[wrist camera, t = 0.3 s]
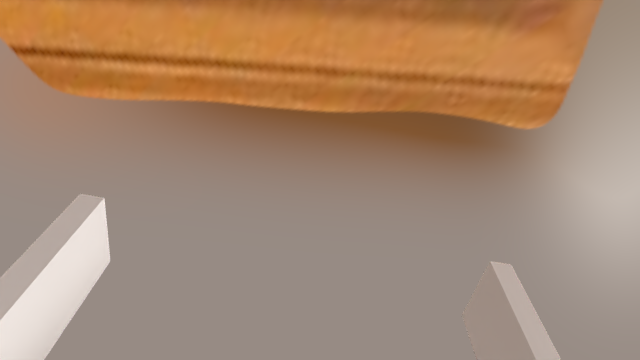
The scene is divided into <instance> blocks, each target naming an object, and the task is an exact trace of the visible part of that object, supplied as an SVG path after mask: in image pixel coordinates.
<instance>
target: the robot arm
mask: <svg viewBox="0 0 640 360" xmlns="http://www.w3.org/2000/svg"><path fill="white" fill-rule="evenodd" d="M109 262H110V253H109V241H108V232H107V220H106V210H105V200H104V198H103V197H96V196H90V195H84V194H80V195H79V196H78V197H77V198H76V199H75V200H74V201H73V202H72V203H71V204H70V205H69V206H68V207H67V208H66V209H65V210H64V212H62V214H61V215H60V216H59V217H58V218H57V219H56V220H55V221H54V222H53V223H52V224H51V225H50V226H49V227H48V228H47V229H46V230H45V231H44V232H43V233H42V235H41V236H40V237H39V238H38V239H37V240H36V241H35V242H34V243H33V244H32V245H31V246H30V247H29V248H28V249H27V250H26V251H25V252H24V254H23V255H22V256H21V257H20V258H19V259H18V260H17V261H16V262H15V263H14V264H13V265H12V266H11V267H10V268H9V269H8V270H7V271H6V272H5V273H4V274H3V276H2V277H1V278H0V360H44V359H45V358H46V356H47V354H48V353H49V352H50V350H51V349H52V347H53V346H54V344H55V343H56V341H57V340H58V338H59V337H60V335H61V334H62V332H63V331H64V329H65V328H66V326H67V325H68V323H69V322H70V320H71V319H72V317H73V316H74V314H75V313H76V311H77V310H78V308H79V307H80V305H81V304H82V302H83V301H84V299H85V298H86V296H87V295H88V293H89V292H90V290H91V289H92V288H93V286H94V284H95V283H96V281H97V280H98V279H99V277H100V275H101V274H102V273H103V271H104V269H105V268H106V266H107V265H108V264H109ZM462 316H463V320H464V322H465V326H466V328H467V332H468V335H469V338H470V341H471V344H472V347H473V350H474V353H475V356H476V359H477V360H561V359H560V357H559V355H558V353H557V351H556V349H555V347H554V345H553V344H552V342H551V340H550V338H549V336H548V334H547V332H546V330H545V328H544V326H543V325H542V323H541V321H540V319H539V317H538V315H537V313H536V311H535V309H534V307H533V305H532V303H531V302H530V300H529V298H528V296H527V294H526V292H525V290H524V288H523V286H522V285H521V282H520V281H519V279H518V277H517V275H516V273H515V271H514V269H513V268H512V265H511V264H505V263H498V262H492V261H490V262H489V264H488V266H487V268H486V270H485V272H484V274H483V276H482V278H481V280H480V282H479V284H478V285H477V287H476V289H475V291H474V293H473V295H472V297H471V299H470V301H469V303H468V305H467V307H466V309H465V310H464V313H463V314H462Z"/></svg>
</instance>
